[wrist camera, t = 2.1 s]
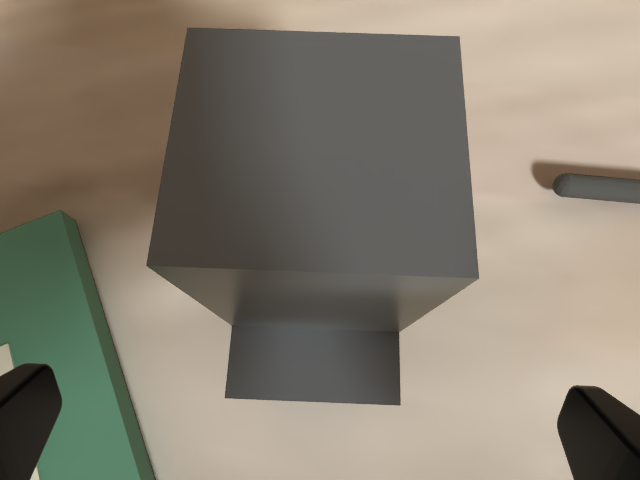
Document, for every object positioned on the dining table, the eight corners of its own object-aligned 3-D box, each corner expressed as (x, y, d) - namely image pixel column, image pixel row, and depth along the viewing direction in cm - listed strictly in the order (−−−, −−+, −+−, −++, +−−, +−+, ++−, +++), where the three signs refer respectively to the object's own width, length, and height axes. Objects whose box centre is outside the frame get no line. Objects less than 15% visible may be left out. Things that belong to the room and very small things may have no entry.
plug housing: (370, 398, 17) (490, 426, 5) (258, 393, 17) (121, 411, 5) (371, 239, 19) (456, -2, 7) (271, 235, 19) (193, -11, 7)
